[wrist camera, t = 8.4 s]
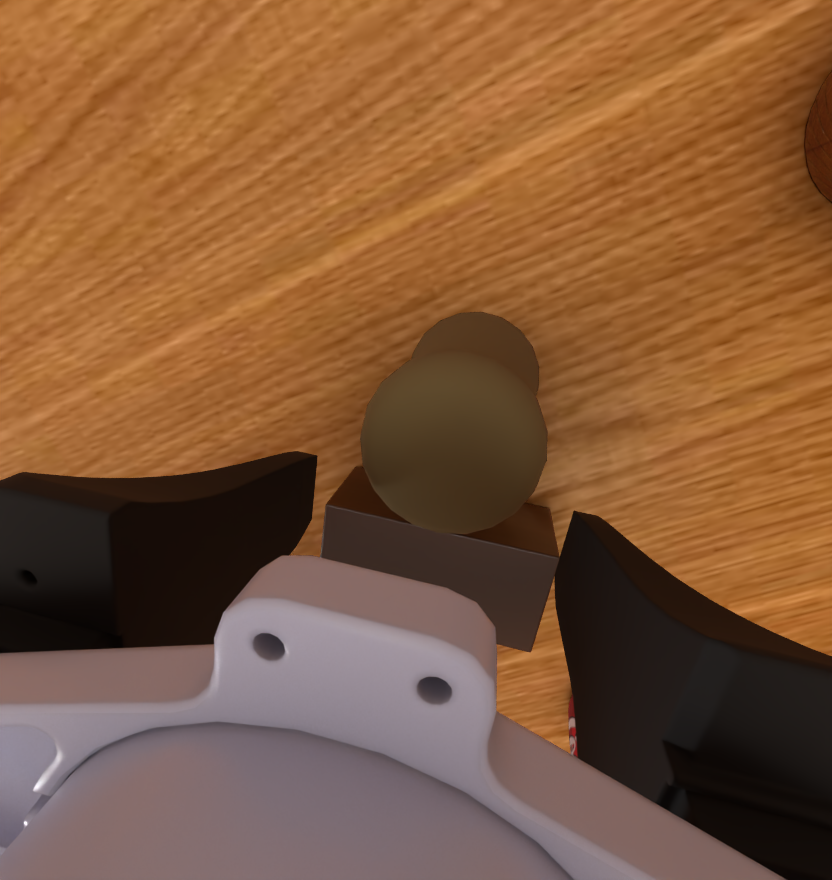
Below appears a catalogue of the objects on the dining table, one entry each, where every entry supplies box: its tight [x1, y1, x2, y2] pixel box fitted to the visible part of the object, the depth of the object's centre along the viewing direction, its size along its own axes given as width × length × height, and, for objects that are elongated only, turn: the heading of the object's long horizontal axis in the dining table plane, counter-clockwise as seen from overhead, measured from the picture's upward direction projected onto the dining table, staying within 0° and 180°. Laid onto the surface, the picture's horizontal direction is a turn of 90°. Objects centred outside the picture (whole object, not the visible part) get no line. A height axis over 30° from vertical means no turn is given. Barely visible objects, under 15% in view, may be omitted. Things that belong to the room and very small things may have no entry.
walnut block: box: [320, 467, 560, 652], centre depth 23 cm, size 5×10×4 cm, turn 81°
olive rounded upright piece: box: [360, 312, 548, 534], centre depth 17 cm, size 6×6×11 cm
